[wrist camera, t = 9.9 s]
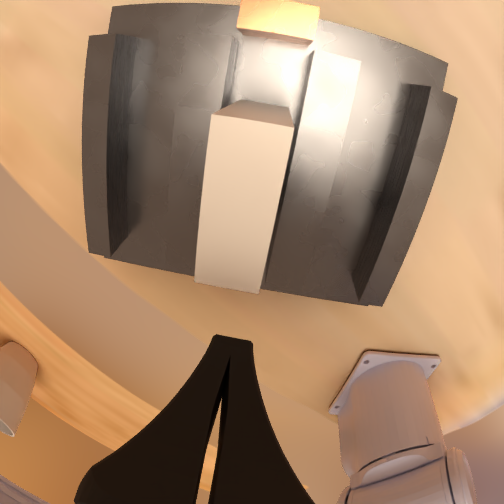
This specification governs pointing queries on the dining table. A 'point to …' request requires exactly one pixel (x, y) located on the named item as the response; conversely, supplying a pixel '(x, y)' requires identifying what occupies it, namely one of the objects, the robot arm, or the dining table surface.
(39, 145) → the dining table surface
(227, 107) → the tall beige block
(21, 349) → the cup
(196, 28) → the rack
